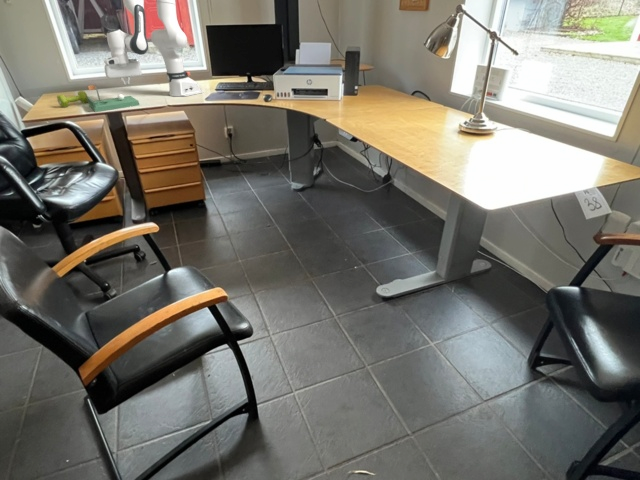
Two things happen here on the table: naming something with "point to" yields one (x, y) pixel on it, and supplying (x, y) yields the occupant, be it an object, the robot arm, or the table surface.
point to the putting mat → (110, 102)
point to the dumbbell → (72, 99)
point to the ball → (120, 97)
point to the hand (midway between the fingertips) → (126, 84)
